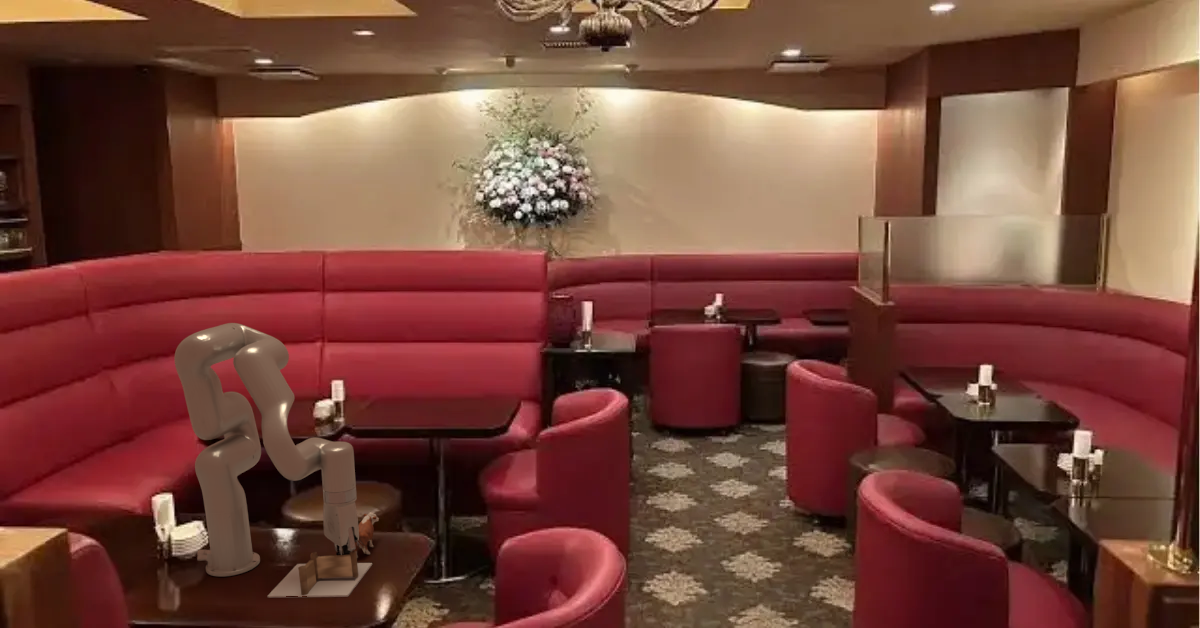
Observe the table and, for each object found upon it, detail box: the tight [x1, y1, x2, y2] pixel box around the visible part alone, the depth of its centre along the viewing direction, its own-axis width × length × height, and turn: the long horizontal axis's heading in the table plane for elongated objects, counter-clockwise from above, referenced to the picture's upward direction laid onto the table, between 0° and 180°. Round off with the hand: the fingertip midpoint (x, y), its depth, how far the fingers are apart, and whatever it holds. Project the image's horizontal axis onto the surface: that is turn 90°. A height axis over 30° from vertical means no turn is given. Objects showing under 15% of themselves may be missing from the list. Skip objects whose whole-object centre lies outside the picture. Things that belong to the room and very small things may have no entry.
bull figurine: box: [353, 511, 380, 559], centre depth 240 cm, size 4×13×8 cm, turn 174°
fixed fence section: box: [298, 559, 316, 595], centre depth 219 cm, size 2×6×6 cm, turn 175°
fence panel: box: [310, 550, 358, 580], centre depth 223 cm, size 11×2×6 cm, turn 91°
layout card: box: [267, 562, 373, 598], centre depth 224 cm, size 19×17×1 cm
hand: (344, 567), depth 227 cm, fingers closed
